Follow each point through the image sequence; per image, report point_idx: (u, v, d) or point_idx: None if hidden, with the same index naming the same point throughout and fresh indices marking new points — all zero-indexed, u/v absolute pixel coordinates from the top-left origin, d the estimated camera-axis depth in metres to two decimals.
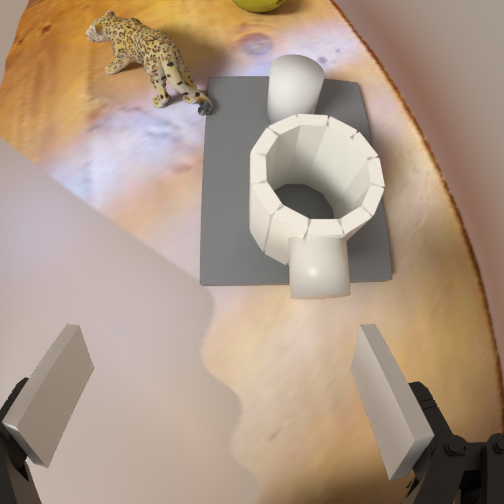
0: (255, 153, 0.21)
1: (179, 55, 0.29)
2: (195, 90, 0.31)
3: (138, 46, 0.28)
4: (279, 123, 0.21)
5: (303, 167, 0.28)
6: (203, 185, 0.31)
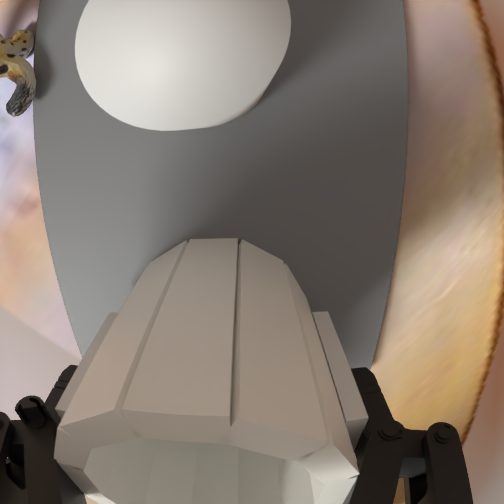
0: (63, 463, 0.07)
1: None
2: None
3: None
4: (81, 426, 0.06)
5: None
6: (54, 260, 0.15)
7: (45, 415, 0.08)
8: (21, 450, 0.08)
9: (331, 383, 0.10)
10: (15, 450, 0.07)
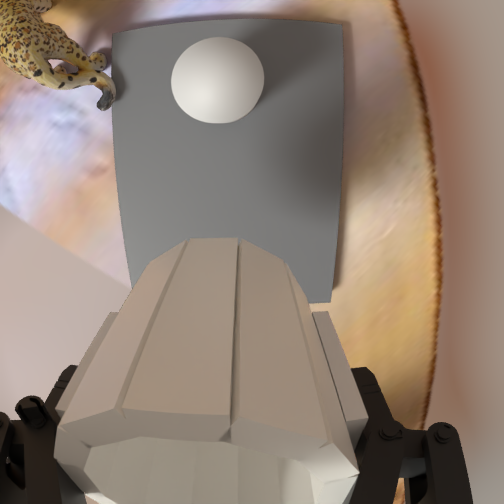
0: (63, 462, 0.07)
1: (50, 45, 0.15)
2: (88, 76, 0.19)
3: None
4: (81, 425, 0.06)
5: None
6: (120, 204, 0.25)
7: (45, 415, 0.08)
8: (21, 450, 0.08)
9: (331, 382, 0.10)
10: (15, 450, 0.07)
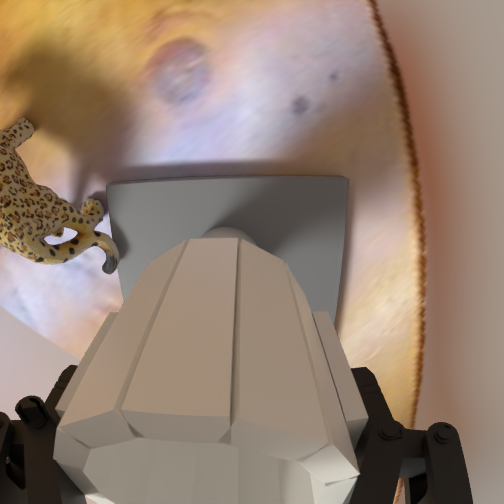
0: (63, 463, 0.07)
1: (44, 228, 0.18)
2: (89, 242, 0.22)
3: None
4: (80, 426, 0.06)
5: None
6: None
7: (45, 415, 0.08)
8: (21, 450, 0.08)
9: (331, 383, 0.10)
10: (15, 450, 0.07)
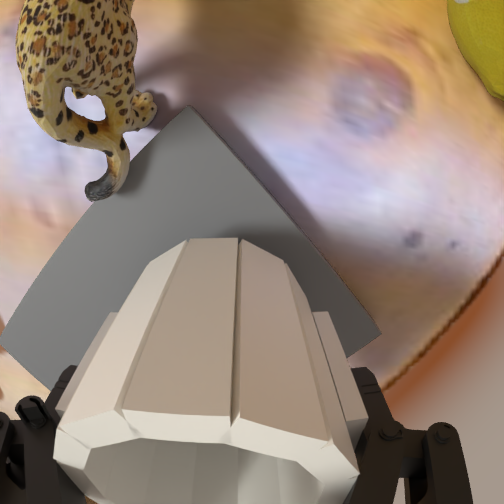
0: (63, 463, 0.07)
1: (86, 80, 0.09)
2: (105, 146, 0.13)
3: None
4: (81, 426, 0.06)
5: None
6: (37, 279, 0.18)
7: (45, 415, 0.08)
8: (21, 450, 0.08)
9: (331, 383, 0.10)
10: (15, 450, 0.07)
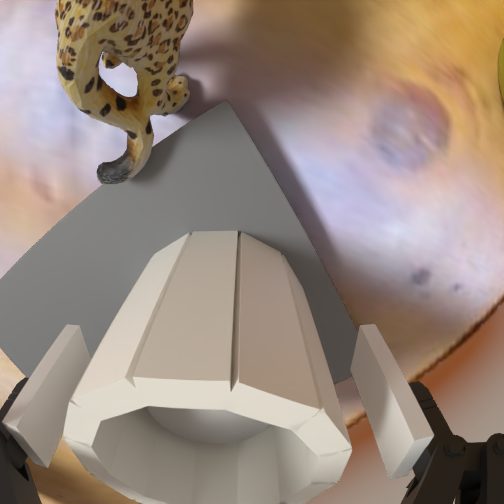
0: (72, 439, 0.08)
1: (130, 48, 0.08)
2: (130, 126, 0.12)
3: None
4: (92, 397, 0.07)
5: None
6: (26, 255, 0.16)
7: None
8: None
9: (325, 364, 0.11)
10: None
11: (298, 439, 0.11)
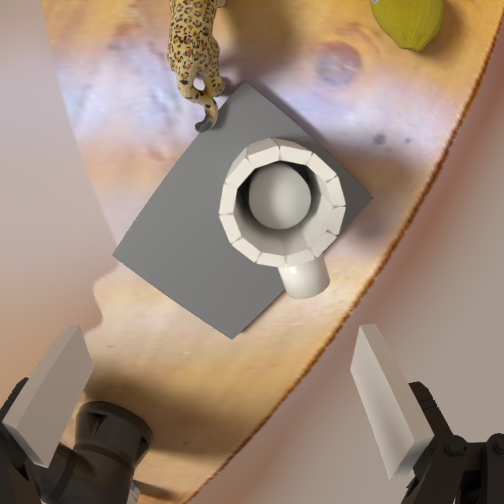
0: (223, 214, 0.23)
1: (206, 68, 0.23)
2: (207, 102, 0.27)
3: (170, 28, 0.21)
4: (233, 174, 0.22)
5: None
6: (155, 192, 0.33)
7: None
8: None
9: None
10: None
11: (325, 202, 0.25)
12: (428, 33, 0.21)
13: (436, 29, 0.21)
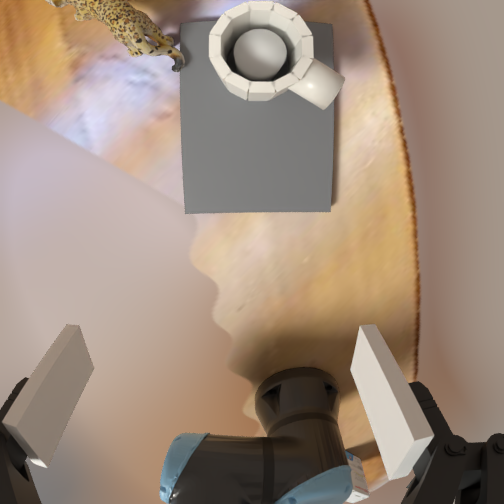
0: (226, 77, 0.25)
1: (146, 25, 0.26)
2: (167, 49, 0.30)
3: (103, 22, 0.24)
4: (211, 49, 0.24)
5: (230, 42, 0.29)
6: (182, 136, 0.36)
7: None
8: None
9: None
10: None
11: (289, 29, 0.25)
12: None
13: None
